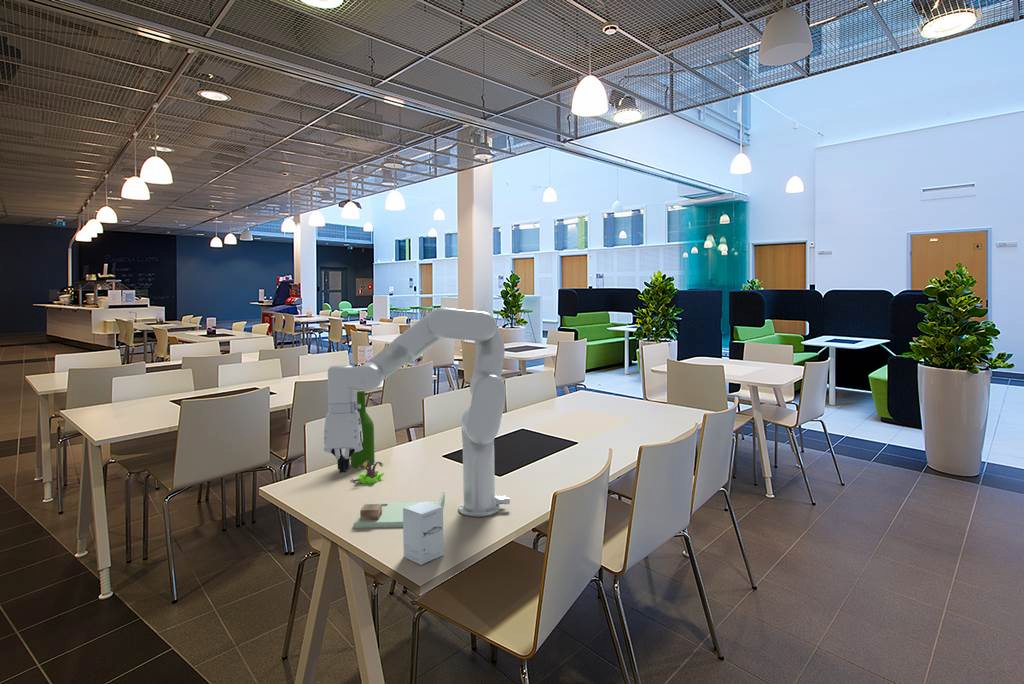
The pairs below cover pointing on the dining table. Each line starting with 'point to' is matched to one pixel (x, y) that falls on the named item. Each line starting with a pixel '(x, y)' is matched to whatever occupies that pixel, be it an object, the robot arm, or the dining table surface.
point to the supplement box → (423, 532)
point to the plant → (369, 473)
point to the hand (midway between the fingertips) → (343, 471)
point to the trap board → (392, 514)
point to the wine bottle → (364, 436)
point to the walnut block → (370, 512)
